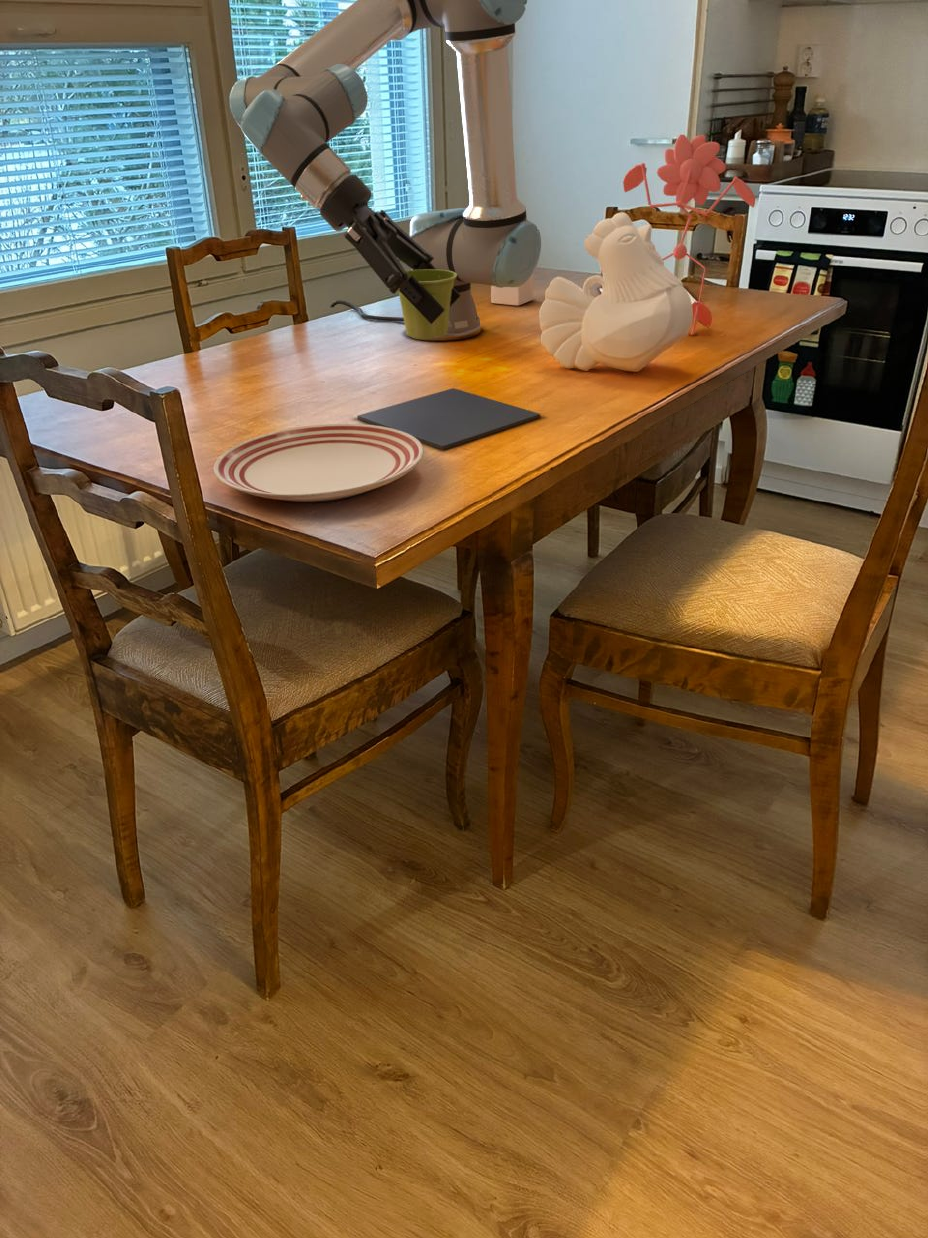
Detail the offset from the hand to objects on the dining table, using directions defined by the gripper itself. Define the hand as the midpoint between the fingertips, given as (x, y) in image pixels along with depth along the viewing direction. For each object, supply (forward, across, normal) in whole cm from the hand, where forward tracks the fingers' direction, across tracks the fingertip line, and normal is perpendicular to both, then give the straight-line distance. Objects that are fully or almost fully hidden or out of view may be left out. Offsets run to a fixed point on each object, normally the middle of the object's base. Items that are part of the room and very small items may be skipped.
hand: (446, 309), depth 142 cm
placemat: (+11, +2, -11) cm, 16 cm away
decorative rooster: (+27, -30, +4) cm, 41 cm away
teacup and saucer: (+29, -92, +6) cm, 96 cm away
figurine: (+35, -63, +12) cm, 73 cm away
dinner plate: (+4, +28, -19) cm, 34 cm away
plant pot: (+1, 0, -5) cm, 5 cm away
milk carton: (+8, -82, -15) cm, 84 cm away
